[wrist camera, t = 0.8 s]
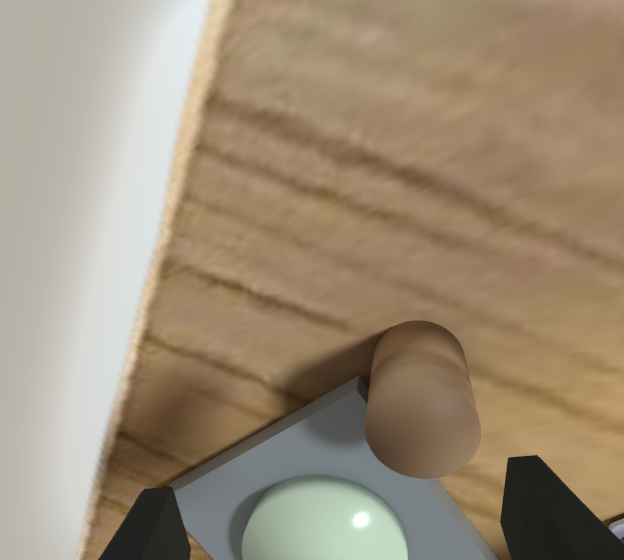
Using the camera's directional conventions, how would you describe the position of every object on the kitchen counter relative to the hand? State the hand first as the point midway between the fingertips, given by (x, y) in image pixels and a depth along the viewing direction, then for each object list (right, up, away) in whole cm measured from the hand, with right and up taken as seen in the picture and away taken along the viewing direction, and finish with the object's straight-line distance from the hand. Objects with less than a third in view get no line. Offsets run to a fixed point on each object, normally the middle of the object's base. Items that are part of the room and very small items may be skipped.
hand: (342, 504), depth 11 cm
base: (0, -9, +20) cm, 22 cm away
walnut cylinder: (+5, +1, +15) cm, 16 cm away
